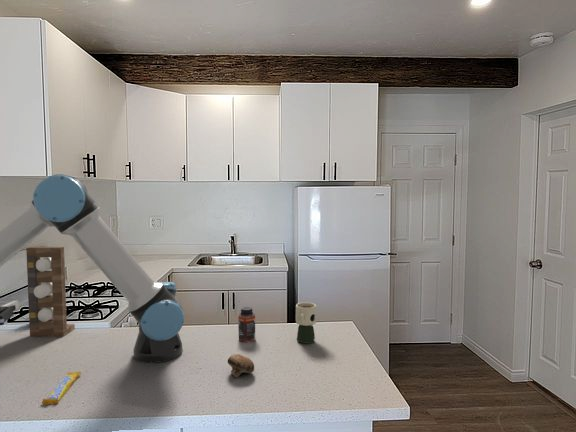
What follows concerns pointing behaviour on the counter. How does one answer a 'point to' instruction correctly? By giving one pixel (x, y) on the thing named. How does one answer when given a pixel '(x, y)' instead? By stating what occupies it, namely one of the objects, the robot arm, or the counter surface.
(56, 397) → the candy bar
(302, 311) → the character mug
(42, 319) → the bottom button
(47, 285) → the middle button
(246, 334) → the supplement bottle
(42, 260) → the top button
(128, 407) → the counter surface
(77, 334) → the counter surface
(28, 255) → the switch panel
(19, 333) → the counter surface
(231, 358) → the mushroom
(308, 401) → the counter surface
